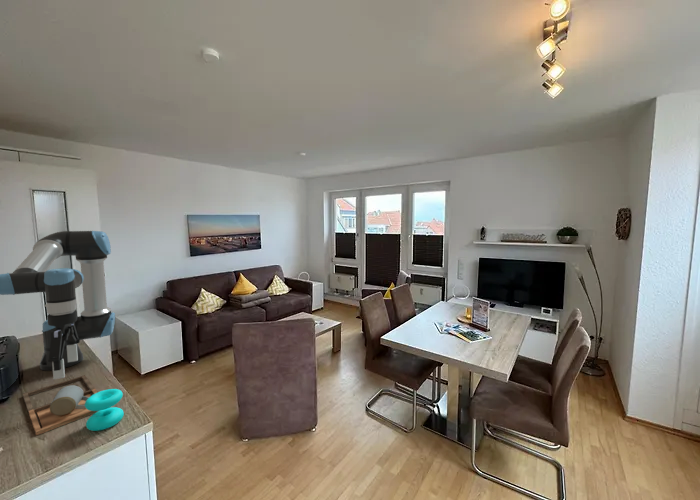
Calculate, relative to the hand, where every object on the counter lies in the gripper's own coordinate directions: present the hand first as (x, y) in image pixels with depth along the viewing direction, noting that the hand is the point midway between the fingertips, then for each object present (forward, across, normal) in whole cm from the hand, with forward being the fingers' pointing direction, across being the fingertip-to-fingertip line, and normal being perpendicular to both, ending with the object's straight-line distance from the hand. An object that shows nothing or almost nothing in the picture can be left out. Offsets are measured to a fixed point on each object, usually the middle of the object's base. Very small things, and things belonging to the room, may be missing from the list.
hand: (66, 369), depth 107 cm
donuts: (+16, +15, +13) cm, 25 cm away
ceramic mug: (+16, 0, +1) cm, 16 cm away
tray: (+16, -7, -3) cm, 18 cm away
